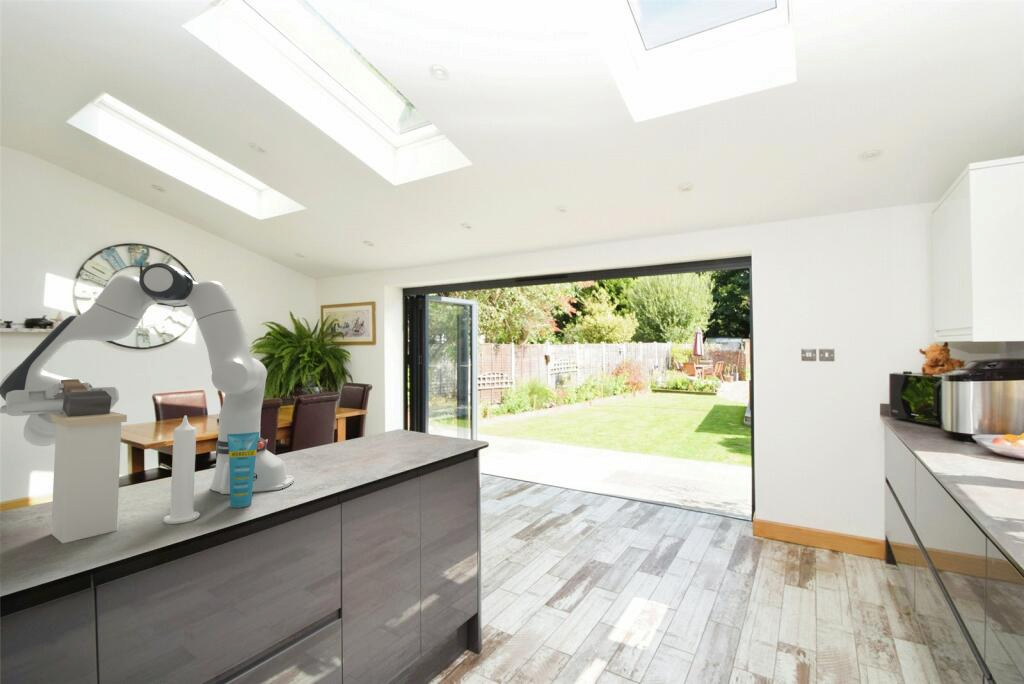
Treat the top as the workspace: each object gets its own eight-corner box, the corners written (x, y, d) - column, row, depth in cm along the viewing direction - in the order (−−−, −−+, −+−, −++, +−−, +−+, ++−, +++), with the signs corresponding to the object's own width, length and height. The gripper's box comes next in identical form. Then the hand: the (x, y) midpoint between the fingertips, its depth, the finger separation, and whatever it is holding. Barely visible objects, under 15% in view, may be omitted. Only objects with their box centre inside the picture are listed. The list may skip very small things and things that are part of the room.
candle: (195, 512, 117) (199, 412, 118) (202, 519, 112) (205, 415, 113) (161, 518, 112) (165, 415, 113) (166, 526, 107) (170, 418, 108)
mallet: (87, 390, 117) (89, 375, 116) (109, 413, 107) (111, 397, 106) (48, 392, 111) (50, 375, 110) (68, 416, 101) (70, 399, 100)
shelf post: (46, 532, 103) (51, 414, 103) (104, 520, 111) (109, 410, 112) (61, 545, 96) (66, 419, 97) (122, 531, 104) (126, 415, 105)
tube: (224, 510, 119) (227, 435, 120) (224, 505, 123) (226, 432, 124) (257, 505, 123) (260, 432, 124) (256, 500, 127) (258, 430, 128)
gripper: (-4, 402, 110) (9, 375, 104) (107, 396, 127) (123, 373, 121) (-2, 426, 108) (11, 400, 102) (110, 417, 125) (127, 395, 119)
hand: (73, 385), depth 112 cm, fingers closed on mallet, 3 cm apart
